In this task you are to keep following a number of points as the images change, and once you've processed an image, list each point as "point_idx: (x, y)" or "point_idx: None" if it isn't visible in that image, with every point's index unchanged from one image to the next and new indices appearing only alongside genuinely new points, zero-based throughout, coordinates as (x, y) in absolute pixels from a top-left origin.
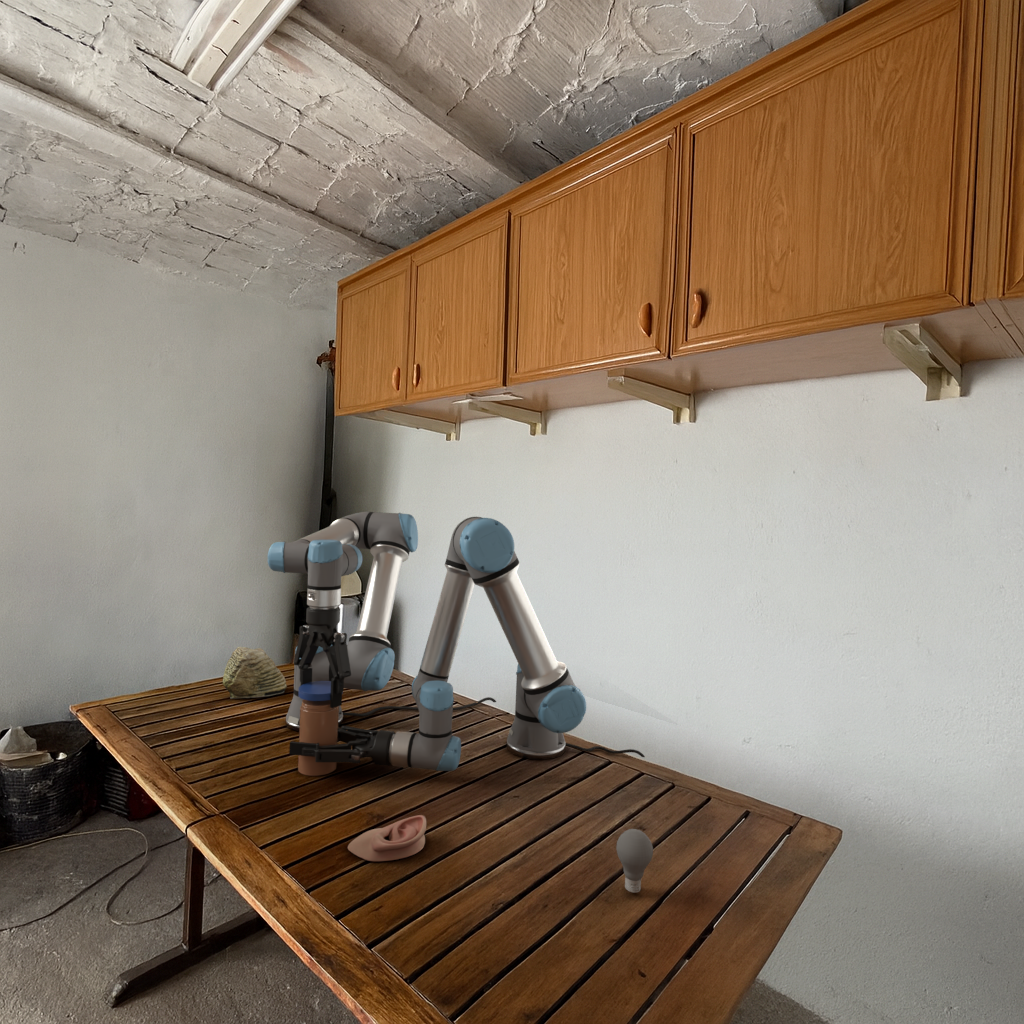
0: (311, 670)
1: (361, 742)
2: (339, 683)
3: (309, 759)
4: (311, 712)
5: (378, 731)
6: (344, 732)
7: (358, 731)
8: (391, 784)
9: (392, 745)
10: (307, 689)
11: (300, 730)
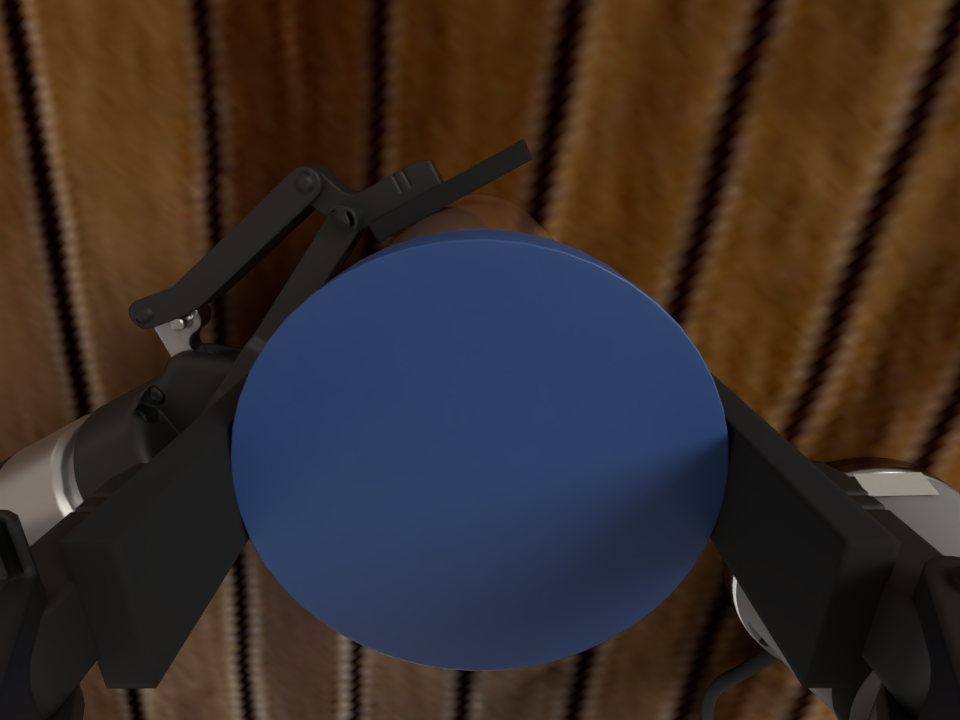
0: (790, 650)
1: (215, 394)
2: (34, 550)
3: None
4: None
5: None
6: None
7: None
8: (134, 361)
9: (52, 452)
10: (537, 347)
11: (516, 219)
